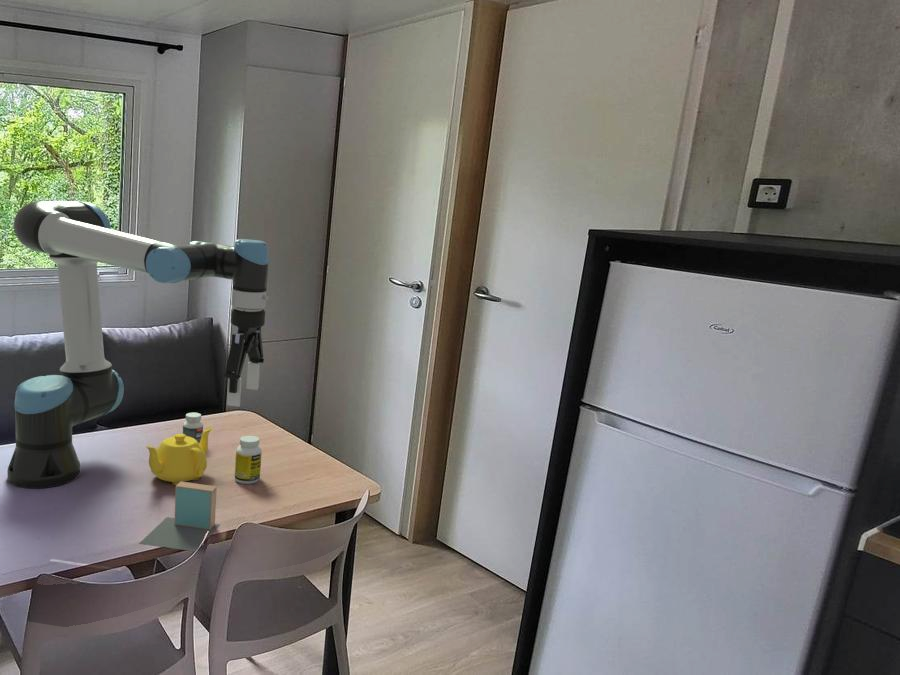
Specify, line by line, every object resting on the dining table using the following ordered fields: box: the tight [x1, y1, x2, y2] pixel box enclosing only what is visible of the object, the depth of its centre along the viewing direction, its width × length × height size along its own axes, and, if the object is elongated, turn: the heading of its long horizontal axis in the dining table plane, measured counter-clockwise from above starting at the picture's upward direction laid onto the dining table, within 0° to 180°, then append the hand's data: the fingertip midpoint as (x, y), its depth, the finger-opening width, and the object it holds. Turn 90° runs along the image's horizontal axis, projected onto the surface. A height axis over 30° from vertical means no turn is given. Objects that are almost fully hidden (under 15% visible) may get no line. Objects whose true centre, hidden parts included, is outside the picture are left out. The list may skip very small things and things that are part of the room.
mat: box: [139, 516, 220, 553], centre depth 151 cm, size 12×12×1 cm
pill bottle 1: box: [182, 412, 204, 443], centre depth 198 cm, size 5×5×9 cm
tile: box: [174, 481, 218, 530], centre depth 154 cm, size 8×2×9 cm, turn 86°
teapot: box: [145, 426, 213, 486], centre depth 175 cm, size 20×15×12 cm
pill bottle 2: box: [234, 435, 263, 485], centre depth 180 cm, size 6×6×11 cm
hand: (243, 397), depth 167 cm, fingers open, 13 cm apart
